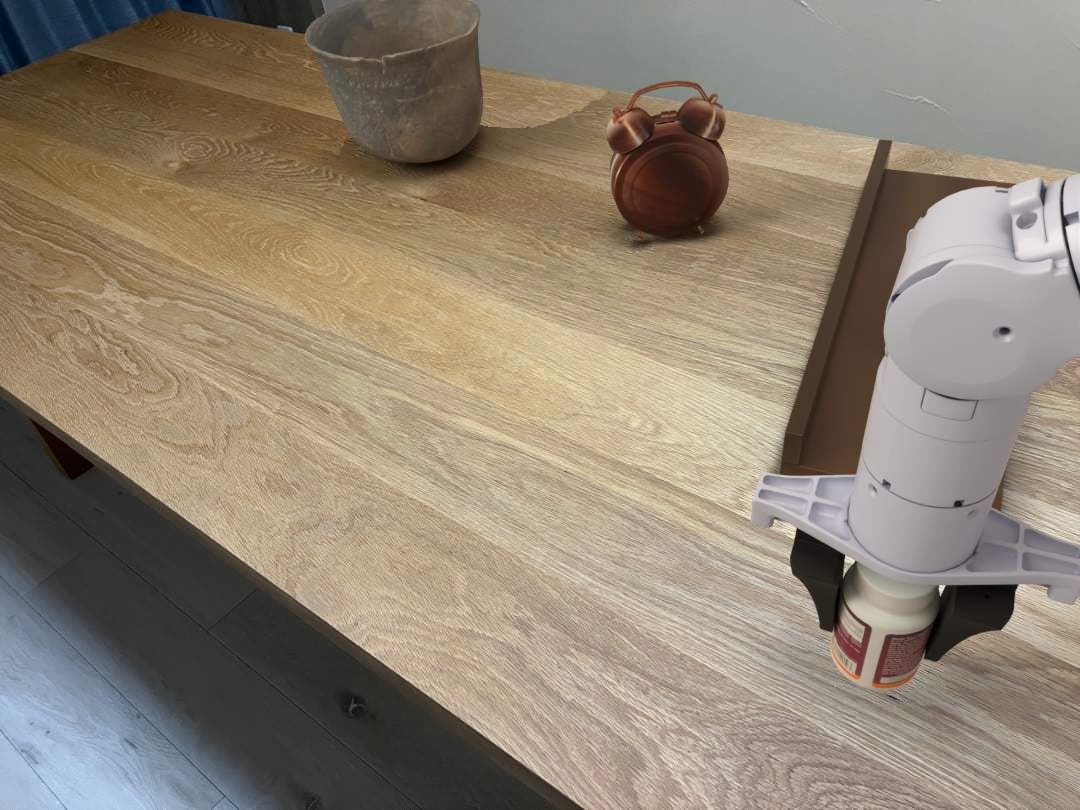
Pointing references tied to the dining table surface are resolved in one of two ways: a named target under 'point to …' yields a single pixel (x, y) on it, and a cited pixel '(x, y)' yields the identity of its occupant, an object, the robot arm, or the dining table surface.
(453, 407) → the dining table surface
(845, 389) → the shelf
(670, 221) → the alarm clock
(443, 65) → the bowl
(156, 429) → the dining table surface
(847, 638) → the pill bottle
